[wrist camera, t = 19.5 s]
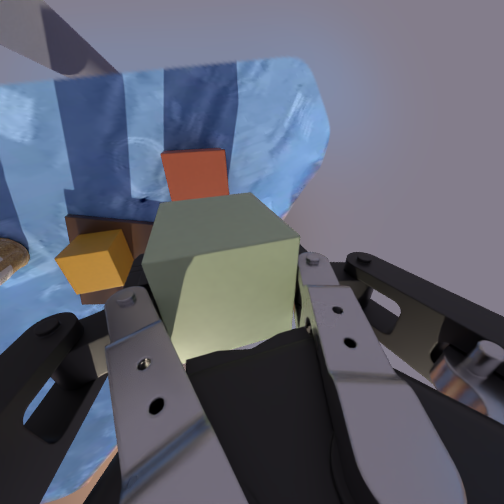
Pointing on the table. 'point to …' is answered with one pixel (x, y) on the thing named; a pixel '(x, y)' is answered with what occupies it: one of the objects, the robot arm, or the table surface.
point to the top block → (96, 261)
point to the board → (132, 230)
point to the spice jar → (11, 258)
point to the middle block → (221, 272)
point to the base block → (195, 173)
